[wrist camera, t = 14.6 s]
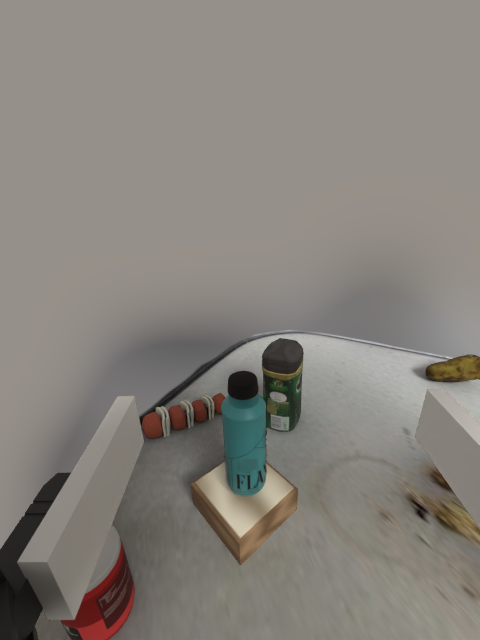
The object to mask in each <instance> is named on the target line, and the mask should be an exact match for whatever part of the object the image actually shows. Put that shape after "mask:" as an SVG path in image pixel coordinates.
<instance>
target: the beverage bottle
mask: <svg viewBox="0 0 480 640" xmlns="http://www.w3.org/2000/svg"><path fill="white" fill-rule="evenodd" d="M228 394H229V395H228V396H227V397H226V398H225V399H224V400H223V402H222V405H221V411H222V419H223V433H224V447H225V457H224V459H225V468H226V474H225V476H226V481H227V484H228V486H229V488H230V489H231V490H232V491H233V492H234V493H236V494H238V495H240V496H252V495H254V494H256V493H258V492H259V491H260V490H261V489H262V488H263V486H264V483H266V482H265V481H266V475H267V470H266V465H267V463H266V461H267V460H266V455H267V454H266V448H267V447H266V446H267V445H266V435H267V431H266V428H267V424H266V403H265V401H264V399H263V398H262V397H261V396H260V395H258V382H257V377H256V376H255V374H253V373H251V372H248V371H239V372H235V373H233V374H232V375H230V377H229V379H228Z"/></svg>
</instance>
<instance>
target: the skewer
mask: <svg viewBox="0 0 480 640" xmlns="http://www.w3.org/2000/svg"><path fill="white" fill-rule="evenodd" d="M224 399H225V397H224V396H223V394H221V393H219V394H217V395H215V396H214V397H213V398H211V397H210V396H208V395H205V396H201V400H196V401H193V402H192V404H191V403H190V402H189V401H187V400H185V401H181V402H180V406H178V405H177V406H172V407H170V408H169V410H168V411H167V409H166V408H164V407H163V406H162V407H160V408H159V407H157V408H156V412H152V413H150V414H148V415H146V416H145V417H144V418H143V421H142V427H141V430H143V431H144V434H145V436H147V437H148V438H158V437H160V436H161V435H162V432H164V438H165V437H166V436H169V435H170V433H171V432H170V423H171V426H172V427H173V428H174V429H176V430H180V429H184V428H185V426H186V419H187V421H188V428H190V427H193V425H194V418H195V419H196V421H198V422H202V421H205V420H206V418H207V413H208V415H209V420H211V415H212V419H214V411H215V412H216V413H219V414H222V411H221V405H222V402H223V400H224ZM206 412H207V413H206ZM168 413H169V414H168ZM190 420H191V421H190ZM166 427H167V429H166Z"/></svg>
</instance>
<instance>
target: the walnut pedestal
mask: <svg viewBox="0 0 480 640" xmlns="http://www.w3.org/2000/svg"><path fill="white" fill-rule="evenodd" d="M266 463H267V462H266ZM266 470H267V475H266V481H265V482H266V483H264V486H263V488H262V489H261V490H260V491H259V492H258V493H256V494H254V495H252V496H240V495H238V494H236V493H234V492H233V491H232V490H231V489H230V488H229V486H228V484H227V481H226V476H225V474H226V468H225V460H224V461H223V462H222V463H220V464H219V465H217V466H216V467H215V468H213V469H212V470H210V471H209V472H207V473H206V474H205V475H203V476H202V477H200V478H199V479H197V480H196V481H195V482H193V483H192V484H191V488H192V495H193V503H194V505H195V506H196V507H197V509H198V510H199V511H200V513H201V514H202V515H203V516H204V518H205V519H206V520H207V522H208V523H209V524H210V526H211V527H212V528H213V530H214V531H215V532H216V534H217V535H218V536H219V537H220V539H221V540H222V541H223V543H224V544H225V545H226V547H227V548H228V549H229V551H230V552H231V553H232V555H233V556H234V557H235V558H236V560H237V561H238V562H239V564H240V565H241V564H242V563H243V562H244V561H245V560H246V559H247V558H248V557H249V556H250V555H251V554H252V553H253V552H254V551H255V550H256V549H257V548H258V547H259V546H260V545H261V544H262V543H263V542H264V541H265V540H266V539H267V538H268V537H269V536H270V535H271V534H272V533H273V532H274V531H275V530H276V529H277V528H278V527H279V526H280V525H281V524H282V523H283V522H284V521H285V520H286V519H287V518H288V517H289V516H290V515H291V514H292V513H293V512H294V511H295V510H296V509H297V496H298V489H297V488H296V487H295V486H294V485H293V484H291V483H290V482H289V481H288V480H287V479H286V478H284V477H283V476H282V475H281V474H280V473H279V472H278V471H276V470H275V469H274V468H273V467H272V466H271V465H269V464H268V463H267V465H266Z"/></svg>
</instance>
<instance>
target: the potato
mask: <svg viewBox="0 0 480 640" xmlns="http://www.w3.org/2000/svg"><path fill="white" fill-rule="evenodd" d="M426 376H427V377H428V378H430V379H432V380H434V381H448V382H460V381H467V380H475V379H479V380H480V357H478V356H476V355H465V356H460V357H456V358H453V359H450V360H447V361H444V362H438V363H435V364H431V365H429V366H428V367H427V368H426Z"/></svg>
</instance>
